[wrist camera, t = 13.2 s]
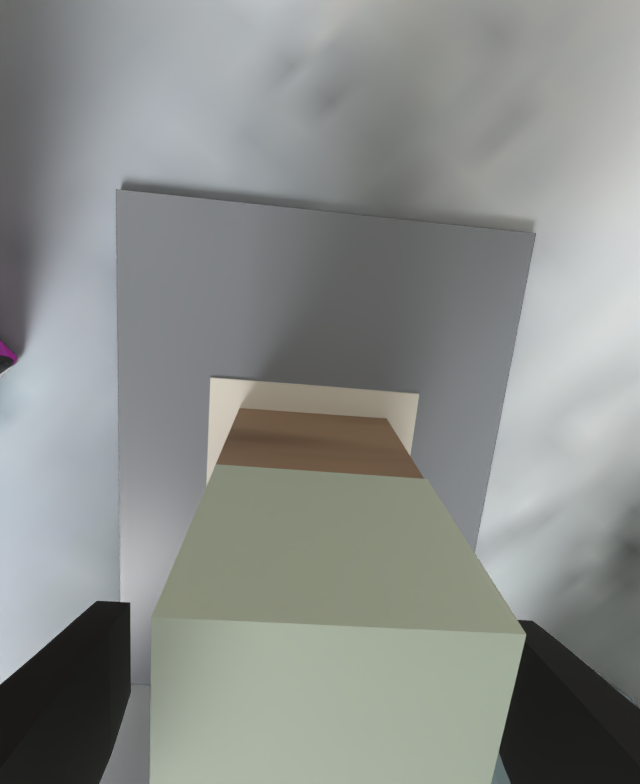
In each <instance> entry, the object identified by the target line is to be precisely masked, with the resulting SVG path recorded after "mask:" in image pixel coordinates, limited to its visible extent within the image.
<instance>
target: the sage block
mask: <svg viewBox="0 0 640 784" xmlns="http://www.w3.org/2000/svg"><path fill="white" fill-rule="evenodd" d="M525 638H526V633H525V631H524V630H523V628H522V627H521V625H520V624H519V622H518V620H517V619H516V617H515V616H514V614H513V613H512V611H511V609H510V608H509V606H508V605H507V603H506V602H505V600H504V598H503V597H502V595H501V594H500V592H499V591H498V589H497V587H496V586H495V584H494V583H493V581H492V580H491V578H490V577H489V575H488V573H487V572H486V570H485V569H484V567H483V566H482V564H481V562H480V561H479V559H478V558H477V556H476V555H475V553H474V551H473V550H472V548H471V547H470V545H469V544H468V542H467V540H466V539H465V537H464V536H463V534H462V533H461V531H460V529H459V528H458V526H457V525H456V523H455V522H454V520H453V518H452V517H451V515H450V514H449V512H448V511H447V509H446V507H445V506H444V504H443V503H442V501H441V500H440V498H439V497H438V495H437V493H436V492H435V490H434V489H433V487H432V486H431V484H430V482H429V481H428V479H420V478H406V477H392V476H377V475H363V474H349V473H334V472H320V471H305V470H291V469H277V468H262V467H248V466H234V465H219V464H216V465H215V467H214V470H213V472H212V475H211V477H210V479H209V482H208V484H207V486H206V489H205V491H204V494H203V496H202V498H201V501H200V503H199V505H198V508H197V510H196V513H195V515H194V517H193V520H192V522H191V524H190V527H189V529H188V532H187V534H186V536H185V539H184V541H183V543H182V546H181V548H180V550H179V553H178V555H177V558H176V560H175V562H174V565H173V567H172V569H171V572H170V574H169V577H168V579H167V581H166V584H165V586H164V588H163V591H162V593H161V596H160V598H159V600H158V603H157V605H156V607H155V610H154V612H153V615H152V617H151V696H150V777H149V784H491V782H492V777H493V773H494V769H495V765H496V761H497V756H498V752H499V748H500V744H501V740H502V735H503V731H504V727H505V723H506V718H507V714H508V710H509V706H510V702H511V697H512V693H513V689H514V685H515V681H516V676H517V672H518V668H519V664H520V659H521V655H522V651H523V647H524V643H525Z"/></svg>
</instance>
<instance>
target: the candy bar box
mask: <svg viewBox="0 0 640 784" xmlns="http://www.w3.org/2000/svg"><path fill="white" fill-rule="evenodd" d="M18 361H19V360H18V358H17V356H16V355H15V354H14V353H13V352H12V351H11V350H10V349H9V348H8V347H7V346H6V345H5V344H4V343H3V342H2V341H1V340H0V377H2V376H3V375H4V374H5V373H6V372H7V371H8V370H9V369H10V368H11V367H12V366H14V365H15V364H16V363H17V362H18Z"/></svg>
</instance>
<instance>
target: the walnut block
mask: <svg viewBox="0 0 640 784" xmlns="http://www.w3.org/2000/svg"><path fill="white" fill-rule="evenodd" d="M216 464H219V465H234V466H248V467H262V468H277V469H291V470H305V471H320V472H334V473H349V474H363V475H377V476H392V477H406V478H420V479H424V478H423V476H422V474H421V473H420V471H419V470H418V468H417V466H416V465H415V463H414V462H413V460H412V458H411V457H410V455H409V453H408V452H407V450H406V449H405V447H404V445H403V444H402V442H401V441H400V439H399V437H398V436H397V434H396V433H395V431H394V429H393V428H392V426H391V425H390V423H389V421H388V420H387V418H373V417H358V416H344V415H330V414H316V413H302V412H288V411H274V410H260V409H245V408H239V410H238V413H237V415H236V417H235V420H234V422H233V424H232V427H231V429H230V432H229V434H228V436H227V439H226V441H225V443H224V446H223V448H222V451H221V453H220V455H219V458H218V460H217V462H216Z"/></svg>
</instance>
